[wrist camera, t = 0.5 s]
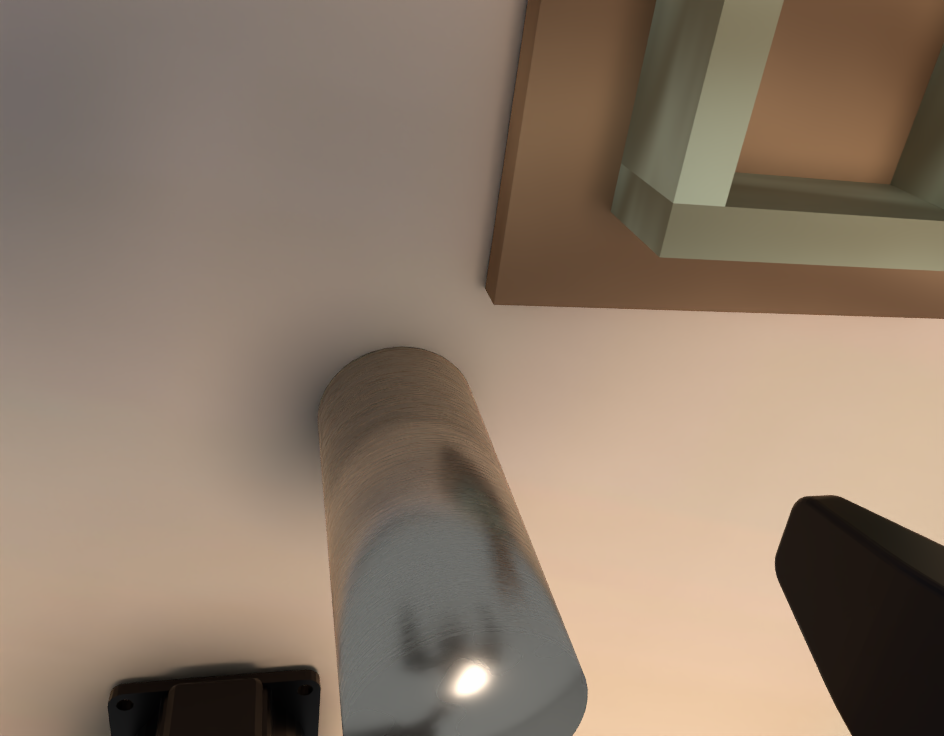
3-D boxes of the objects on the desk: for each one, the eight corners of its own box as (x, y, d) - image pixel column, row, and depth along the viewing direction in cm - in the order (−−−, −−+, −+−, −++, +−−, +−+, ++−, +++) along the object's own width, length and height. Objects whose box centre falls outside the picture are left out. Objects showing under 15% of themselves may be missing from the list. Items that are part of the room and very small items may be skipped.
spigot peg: (463, 477, 24) (563, 785, 16) (314, 480, 23) (337, 812, 15) (482, 348, 22) (610, 623, 14) (320, 345, 21) (350, 641, 13)
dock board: (927, 304, 25) (1031, 368, 21) (485, 288, 21) (524, 361, 18) (1174, -264, 18) (1380, -301, 15) (589, -417, 15) (682, -512, 11)
